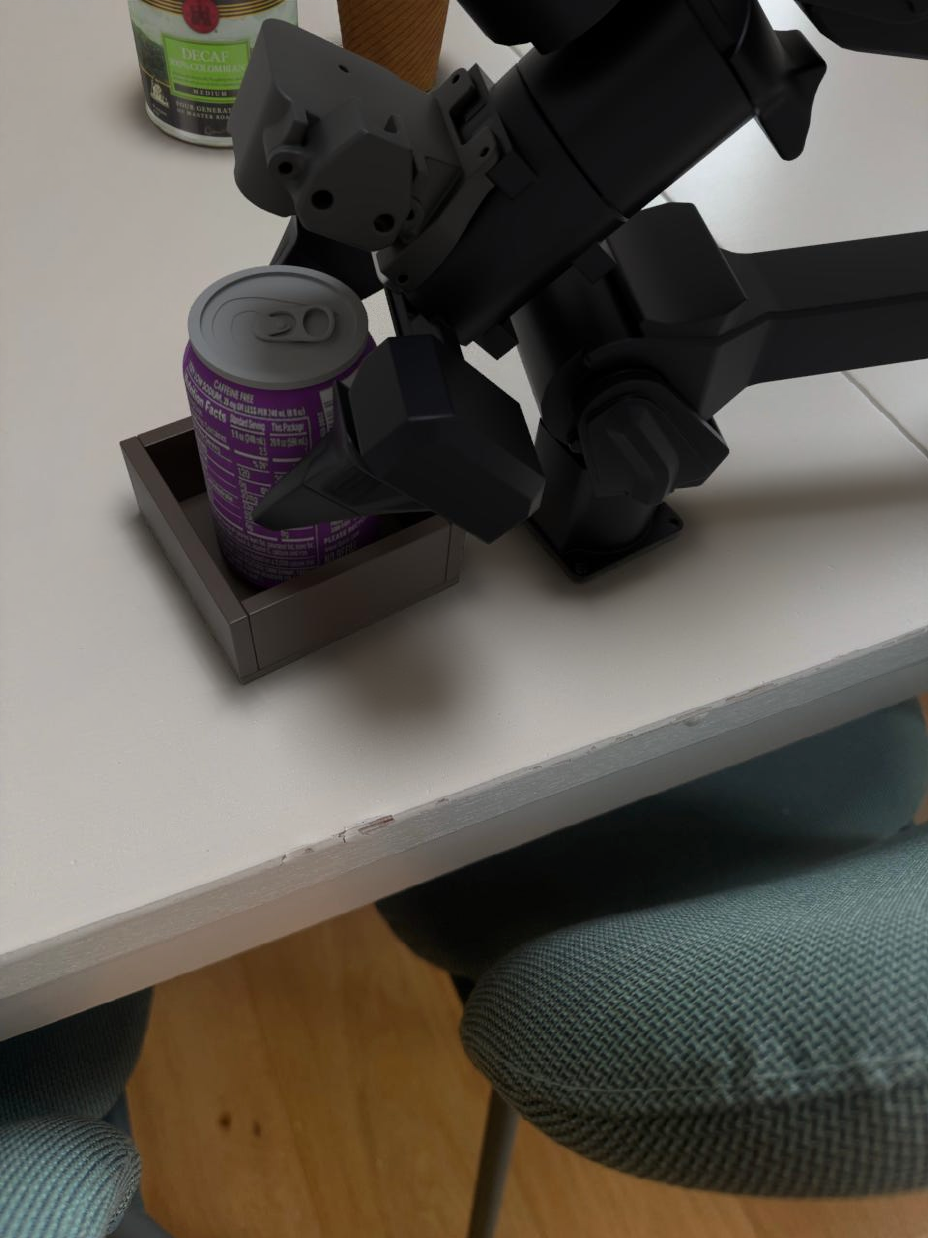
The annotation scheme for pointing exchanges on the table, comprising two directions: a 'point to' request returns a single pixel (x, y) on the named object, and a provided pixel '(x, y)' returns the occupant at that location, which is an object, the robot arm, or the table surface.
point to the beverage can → (271, 406)
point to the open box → (298, 608)
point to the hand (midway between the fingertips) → (249, 431)
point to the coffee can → (198, 60)
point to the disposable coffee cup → (396, 35)
